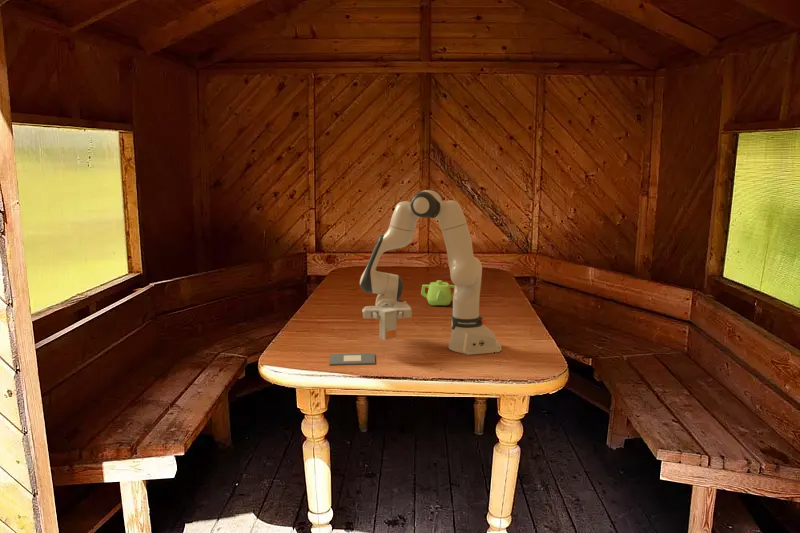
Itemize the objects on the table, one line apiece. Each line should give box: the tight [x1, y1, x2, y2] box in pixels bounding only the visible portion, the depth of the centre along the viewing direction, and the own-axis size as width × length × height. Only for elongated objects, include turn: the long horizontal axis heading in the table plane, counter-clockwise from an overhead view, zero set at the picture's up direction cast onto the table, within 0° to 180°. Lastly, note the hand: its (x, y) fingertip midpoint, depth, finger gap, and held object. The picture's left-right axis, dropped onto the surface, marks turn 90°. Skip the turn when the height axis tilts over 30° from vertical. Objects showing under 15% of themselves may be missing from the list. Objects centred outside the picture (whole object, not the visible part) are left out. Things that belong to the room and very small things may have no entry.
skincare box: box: [378, 308, 398, 341], centre depth 261 cm, size 6×4×12 cm
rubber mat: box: [329, 352, 376, 366], centre depth 259 cm, size 18×12×1 cm, turn 94°
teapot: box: [420, 279, 455, 307], centre depth 349 cm, size 18×20×13 cm
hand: (388, 317), depth 259 cm, fingers closed on skincare box, 7 cm apart
